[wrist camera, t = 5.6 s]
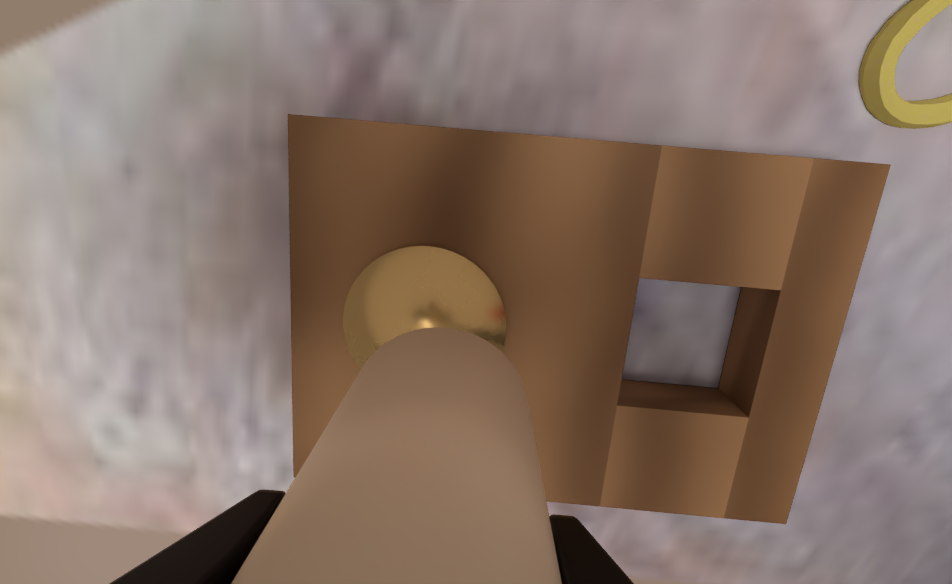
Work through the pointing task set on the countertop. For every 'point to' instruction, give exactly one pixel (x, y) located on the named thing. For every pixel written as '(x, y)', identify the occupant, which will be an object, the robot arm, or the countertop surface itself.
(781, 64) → the countertop surface
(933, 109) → the key
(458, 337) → the ivory candle
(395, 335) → the brass disc
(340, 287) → the walnut holder
